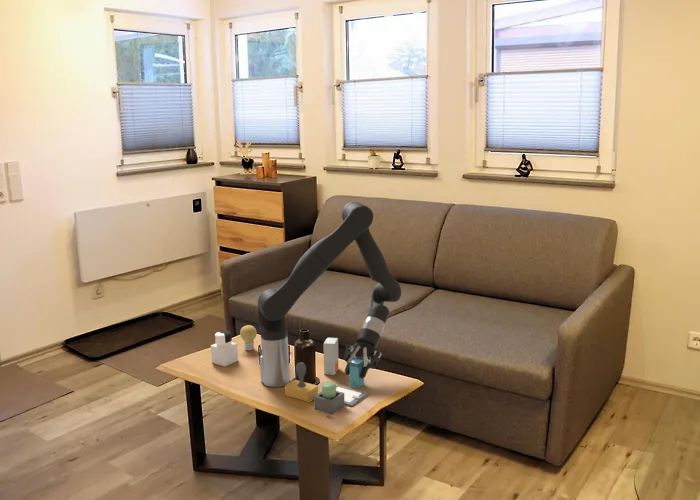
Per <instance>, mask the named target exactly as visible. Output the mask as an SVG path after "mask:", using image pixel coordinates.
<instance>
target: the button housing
mask: <svg viewBox="0 0 700 500" xmlns="http://www.w3.org/2000/svg"><path fill="white" fill-rule="evenodd" d="M313 405H314V408H313V409H314V410H316V411H318V412H322V413H325V414H329V415H334V414H335V413H337V412H338V411H340V410H341V409H342V408H344V407H345V406H346V405H345V403H344V393H342V392H339V391H336V397H335V398H333V399H332V400H330V399H326V398H323V397H322V391H320V392H318V394H317V395H316V396H314V399H313Z"/></svg>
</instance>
